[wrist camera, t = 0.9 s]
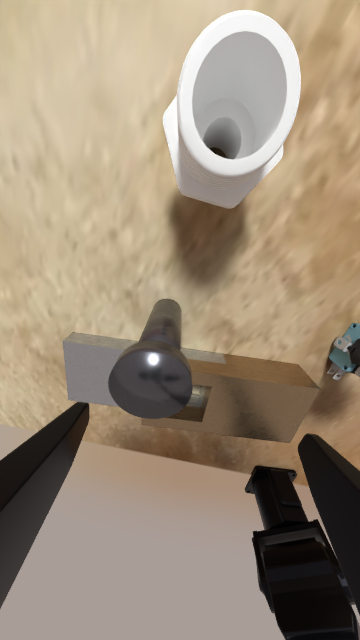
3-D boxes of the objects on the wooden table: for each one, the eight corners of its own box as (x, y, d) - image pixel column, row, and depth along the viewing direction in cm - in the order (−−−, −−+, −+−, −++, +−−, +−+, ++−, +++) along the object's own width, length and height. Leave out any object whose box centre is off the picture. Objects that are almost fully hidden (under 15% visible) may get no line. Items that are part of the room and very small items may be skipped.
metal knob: (184, 333, 21) (184, 423, 11) (144, 327, 21) (107, 413, 11) (191, 295, 20) (199, 359, 9) (148, 288, 20) (108, 346, 9)
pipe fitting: (240, 221, 17) (283, 209, 10) (160, 197, 16) (141, 166, 9) (271, 129, 15) (361, 19, 7) (178, 98, 14) (173, -56, 7)
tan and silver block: (274, 413, 26) (290, 443, 22) (76, 387, 25) (58, 414, 21) (298, 364, 23) (320, 389, 19) (73, 332, 22) (50, 351, 18)
